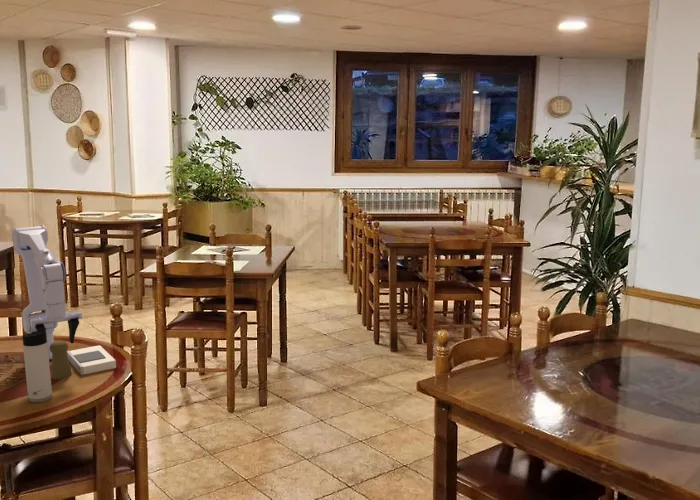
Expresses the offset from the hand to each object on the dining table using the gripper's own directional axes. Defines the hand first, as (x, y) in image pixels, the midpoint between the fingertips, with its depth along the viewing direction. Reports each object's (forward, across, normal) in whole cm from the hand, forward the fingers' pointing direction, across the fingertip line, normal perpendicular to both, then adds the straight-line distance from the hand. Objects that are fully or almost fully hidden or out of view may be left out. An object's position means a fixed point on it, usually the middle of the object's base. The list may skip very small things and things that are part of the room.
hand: (58, 344), depth 212 cm
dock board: (+10, +11, +6) cm, 16 cm away
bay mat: (+8, +10, +5) cm, 14 cm away
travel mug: (+10, -9, -15) cm, 20 cm away
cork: (+10, 0, 0) cm, 10 cm away
